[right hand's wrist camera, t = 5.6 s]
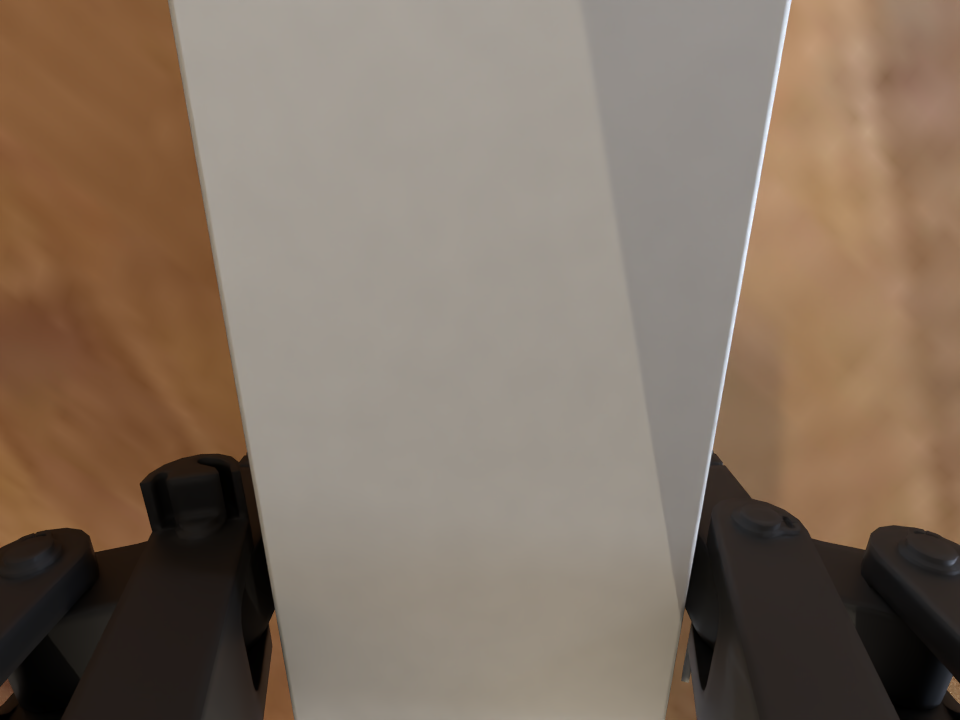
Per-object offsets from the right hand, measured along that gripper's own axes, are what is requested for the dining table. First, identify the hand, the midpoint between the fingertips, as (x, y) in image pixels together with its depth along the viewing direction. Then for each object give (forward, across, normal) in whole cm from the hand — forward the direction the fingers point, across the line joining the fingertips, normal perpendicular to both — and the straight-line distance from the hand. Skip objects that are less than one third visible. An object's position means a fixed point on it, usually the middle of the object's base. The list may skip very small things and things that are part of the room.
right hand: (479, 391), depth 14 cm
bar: (+1, 0, -22) cm, 22 cm away
